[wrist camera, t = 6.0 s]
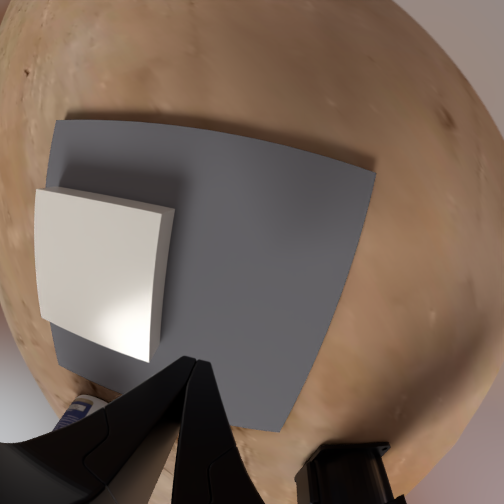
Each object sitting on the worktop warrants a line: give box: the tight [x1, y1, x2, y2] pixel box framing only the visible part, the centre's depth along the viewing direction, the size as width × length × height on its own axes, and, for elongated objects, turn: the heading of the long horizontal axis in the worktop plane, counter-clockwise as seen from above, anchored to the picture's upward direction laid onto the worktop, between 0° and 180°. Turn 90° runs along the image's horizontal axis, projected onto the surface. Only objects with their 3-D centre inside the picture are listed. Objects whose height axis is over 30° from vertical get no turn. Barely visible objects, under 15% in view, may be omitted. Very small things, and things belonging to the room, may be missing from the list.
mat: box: [46, 120, 376, 432], centre depth 13 cm, size 16×16×1 cm
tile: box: [34, 186, 175, 362], centre depth 11 cm, size 2×7×7 cm
